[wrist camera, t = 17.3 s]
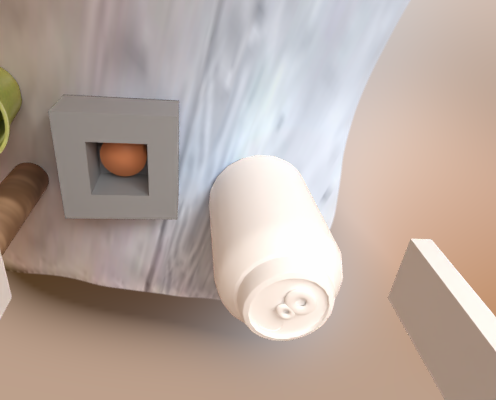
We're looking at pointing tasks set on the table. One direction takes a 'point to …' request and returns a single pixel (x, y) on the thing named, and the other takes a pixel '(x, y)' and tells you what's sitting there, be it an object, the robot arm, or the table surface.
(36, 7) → the table surface
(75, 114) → the box
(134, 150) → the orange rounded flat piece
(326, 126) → the table surface
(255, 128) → the table surface
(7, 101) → the plant pot
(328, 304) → the can
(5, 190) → the dowel
